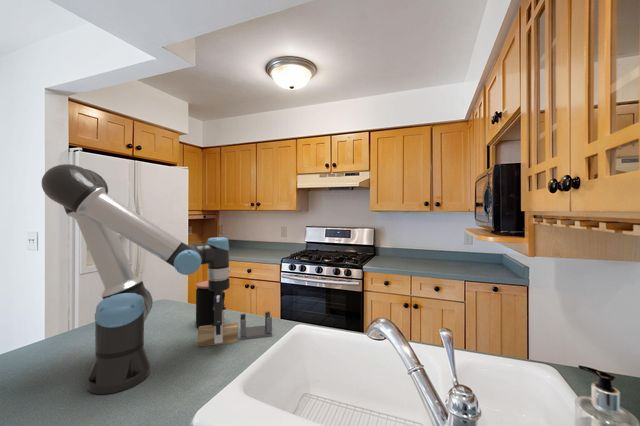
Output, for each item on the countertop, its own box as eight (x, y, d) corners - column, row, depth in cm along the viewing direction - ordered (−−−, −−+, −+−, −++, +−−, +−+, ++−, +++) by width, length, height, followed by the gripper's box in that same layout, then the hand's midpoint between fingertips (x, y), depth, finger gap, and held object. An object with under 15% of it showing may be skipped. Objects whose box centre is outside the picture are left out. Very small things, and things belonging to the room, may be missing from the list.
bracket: (272, 336, 111) (272, 318, 111) (240, 339, 108) (240, 321, 108) (269, 327, 120) (269, 310, 120) (240, 330, 117) (240, 313, 117)
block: (237, 342, 106) (237, 326, 106) (197, 347, 103) (197, 330, 102) (237, 338, 110) (238, 322, 110) (199, 342, 106) (199, 326, 106)
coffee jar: (216, 330, 117) (217, 286, 117) (191, 329, 117) (191, 286, 117) (225, 320, 127) (226, 280, 127) (202, 319, 128) (202, 280, 127)
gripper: (228, 286, 95) (229, 348, 95) (230, 270, 119) (231, 320, 119) (204, 288, 93) (205, 352, 93) (211, 272, 117) (212, 322, 117)
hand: (219, 334), depth 106 cm, fingers open, 13 cm apart
